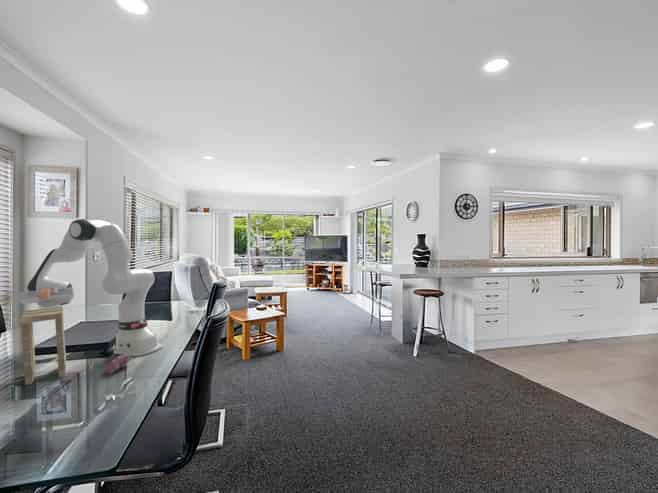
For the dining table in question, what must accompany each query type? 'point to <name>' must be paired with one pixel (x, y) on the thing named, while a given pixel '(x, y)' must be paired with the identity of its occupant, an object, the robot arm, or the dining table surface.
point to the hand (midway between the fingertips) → (46, 289)
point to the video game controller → (117, 363)
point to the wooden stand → (29, 339)
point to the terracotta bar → (44, 293)
